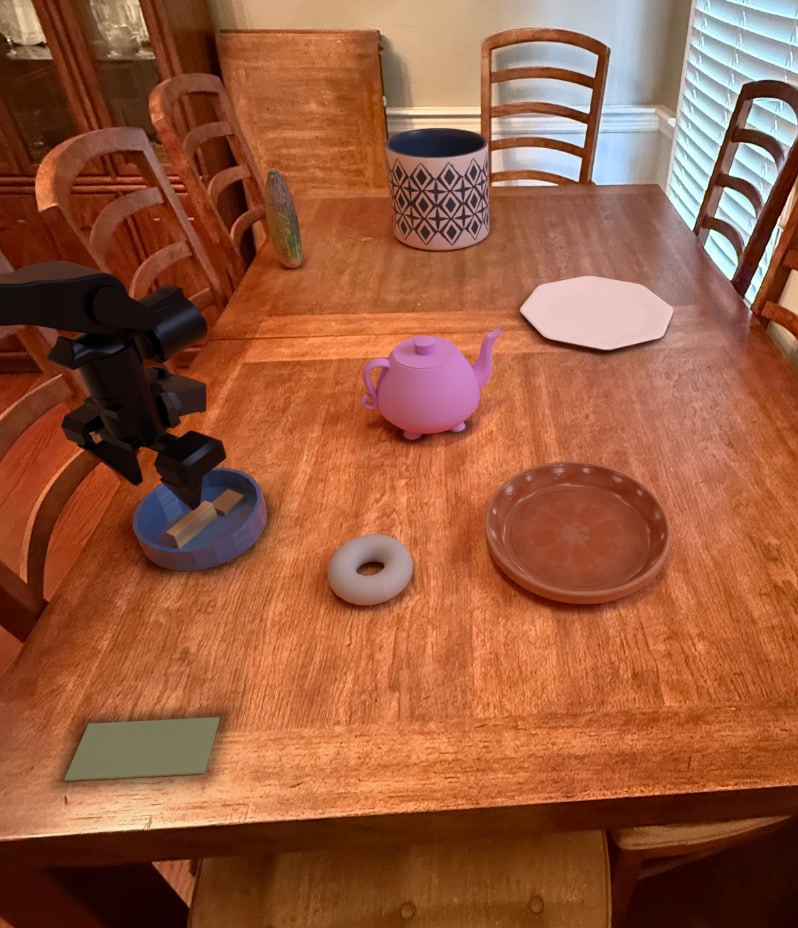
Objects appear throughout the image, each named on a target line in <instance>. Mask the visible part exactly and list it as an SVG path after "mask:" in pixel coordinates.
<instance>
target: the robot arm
mask: <svg viewBox="0 0 798 928" xmlns="http://www.w3.org/2000/svg"><path fill="white" fill-rule="evenodd" d="M9 326H12V327H13V326H32V327H33V326H34V327H42V328H47V329H52V330H59V331H64V332H69V333H78V334H77V335H75V336H73V337H71V338H69V337H67V336H64V335H58V336H57V337H56V340H55V344H54V345H53V346H52V347H51V348H50V350H49V352H48V354H47V356H46V360H47V361H48V362H49V363H52V364H55V365H58V366H60V367H63V368H65V369H69V370H71V371H76V370H78V371H79V374H80V376H81V378H82V380H83V382H84V384H85V386H86V389H87V391H88V393H89V396H87V397H86V398H84V399H83V402H84V403H83V404H81V405H80V406H78V407H76V408H75V409H74V410H71V411H70V412H68V413H66V414H65V415H64V416H63V420H62V421H61V425H60V428H61V430H62V432H63V434H64V435H65V438H66V440H67V441H69V442H72V443H74V444H76V446H77V447H78V448H79V449H82V450H83V451H85V452H86V453H88V454H89V455H91V456H92V457H93V458H94V459H96V460H98V461H99V462H101V463H102V464H103V465H105V466H106V467H108V468H109V469H110V470H112V471H114V472H115V473H116V474H118V475H119V476H120V477H121V478H123V479H124V480H125V481H127V482H128V483H130V484H131V485H132V486H134V487H138V486H139V485H141V484H142V483H143V482H144V478H143V473H142V469H141V466H140V462H139V460H138V456H137V453H136V451H138V450H139V449H141V448H146V449H148V450H151V451H154V452H156V453H157V455H156V457H155V459H154V463H153V466H154V468H155V471H156V473H157V474H158V475H159V476H160V477H161V478H159V481H160V483H161V484H162V483H163V484H164V485H165V486H166V487H167V488H168V489H169V490H170V491H171V492H172V493H173V494H174V495H176V496H177V497H178V498H179V499H180V500H181V501H182V502H183V503H184V504H185V505H186V506H187V507H188V508H189V509H191V510H193V511H194V510H195V509H197V508H198V507H199V506H200V502H201V493H202V483H203V477H204V475H206V474H207V473H208V472H209V471H211V470H212V469H213V468H216V467H217V466H219V465H220V464H221V463H223V462H224V461H225V460H226V459H227V452H226V449H225V446H224V443H223V440H221V439H218V438H216V437H213V436H211V435H207V434H205V433H202V432H199V431H196V430H192V429H190V430H188V431H187V432H185V433H184V434H183V435H181V436H180V437H179V436H178V435H175V434H172V433H169V432H168V430H169V429H175V428H177V426H179V425H180V424H182V420H181V418H180V417H184V416H188V415H192V414H195V413H199V414H202V413H205V412H207V383H205V382H204V381H203V382H202V381H199V380H196V379H194V378H192V377H189V376H185V375H177V374H175V373H169V371H168V369H167V368H165V367H162V366H159V365H156V364H153V365H148V366H146V365H145V363H144V361H143V360H146V361H147V360H150V361H151V362H153V363H157V364H164V363H166V362H168V361H169V360H171V359H173V358H174V357H176V356H178V355H179V354H182V352H184V351H186V350H188V349H190V348H191V347H193V346H195V345H196V344H198V343H200V342H201V341H204V340H205V339H206V338H207V336H208V330H209V328H208V323H207V320H206V318H205V316H203V315H202V313H201V312H200V311H199V308H197V306H196V305H195V304H194V303H193V302H192V301H191V300H189V298H187V297H186V296H185V293H184V291H183V288H182V287H181V286H177V285H174V284H170V283H166V284H163V285H161V286H159V287H157V289H155V290H154V291H153V292H151V293H150V294H149V293H148V295H146V296H144V297H141V298H139V299H138V300H136V299H135V298H133V297H131V296H130V295H129V292H128V290H127V288H126V286H125V284H123V282H122V281H121V280H120V278H119V277H118V276H116V275H114V274H111V273H108V272H105V271H102V270H98V269H94V268H91V267H87V266H84V265H81V264H77V263H74V262H71V261H66V260H53V261H47V262H40V263H34V264H29V265H24V266H21V267H20V268H17V269H15V270H13V271H11V272H10V271H9V272H6V273H0V327H9Z"/></svg>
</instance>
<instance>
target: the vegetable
mask: <svg viewBox="0 0 798 928" xmlns="http://www.w3.org/2000/svg"><path fill="white" fill-rule="evenodd" d="M263 193H264V194H263V195H264V211H265V218H266V224H267V229H268V233H269V237H270V240H271V243H272V246H273V248H274V251H275V254H276V256H277V258H278V260H279V261H280V263H281V264H282V265H283V266H285V267H287V268H289V269H296V268H298V267H299V266H300V265H301V264H302V261H303V255H304V254H303V243H302V237H301V230H300V222H299V217H298V214H297V210H296V206H295V204H294V203H295V202H294V199H293V194H292V192H291V190H290V187H289V185H288V184H287V182H286V181H285V179H283V177H282V175H281V173H280V172H279V171H277V170H275V169H272V170H269V172H268V173H267V177H266V182H265V185H264V192H263Z"/></svg>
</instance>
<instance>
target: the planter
mask: <svg viewBox="0 0 798 928" xmlns="http://www.w3.org/2000/svg"><path fill="white" fill-rule="evenodd" d="M384 149H385V159H386V161H385V162H386V170H387V171H386V172H387V180H388V189H389V191H388V192H389V200H390V208H391V209H390V210H391V218H392V220H391V221H392V228H393V229H392V230H393V234H394V236H395V238H396V239H397V240H398V241H399V242H401V243H403V244H405V245H407V246H409V247H411V248H415V249H419V250H425V251H434V252H435V251H437V252H439V251H441V252H445V251H455V250H460V249H464V248H469V247H471V246H473V245H476V244H479V243H480V242H481V241H483V240H484V239H485V238H486V237H487V236H488V234H489V233H490V173H489V172H490V170H489V169H490V165H489V164H490V163H489V141H488V139H487V138H486V137H485V136H484V135H482V134H480V133H478V132H475V131H472V130H468V129H461V128H454V127H453V128H451V127H428V128H425V127H424V128H416V129H411V130H406V131H402V132H399V133H395V134H394V135H392V136H390V137H388V139H387V138H386V141H385V142H384Z"/></svg>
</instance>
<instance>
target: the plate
mask: <svg viewBox="0 0 798 928" xmlns="http://www.w3.org/2000/svg"><path fill="white" fill-rule="evenodd" d="M519 314H520V315H522V316H523V317H524V318H525V320H527V322H528V323H529V324H530V325H531V326H532V327H533V328H534V329H535V331H537V332H538V333H539V334H540V335H541V336H542V338H544V339H547V340H548V341H552V342H557V343H562V344H567V345H572V346H577V347H582V348H588V349H593V350H598V351H603V352H604V351H605V352H609V351H615V350H620V349H623V348H627V347H628V348H629V347H632V346H635V345H641V344H645V343H649V342H653V341H657V340H660V339H661V338H663V337H664V336H665V333H666V330H667V329H668V326H669V323H670V321H671V319H672V317H673V314H674V308H673V307H672V306H671V305H669V303H667V302H665V300H663V299H662V298H660V297H659V296H658V295H657V294H655V293H654V292H653V291H651V290H650V289H649V288H648V287H646V286H645V285H643V284H640V283H637V282H630V281H624V280H618V279H612V278H606V277H601V276H594V275H582V276H576V277H572V278H568V279H567V278H566V279H562V280H557V281H550V282H547V283H541V284H539V285H537V286H536V288H534V290H533V291H532V293H531V294H530V295H529V296H528V298H527V299H526V300H525V301H524V303H523V304H522V305H521V306H520V307H519Z"/></svg>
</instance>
